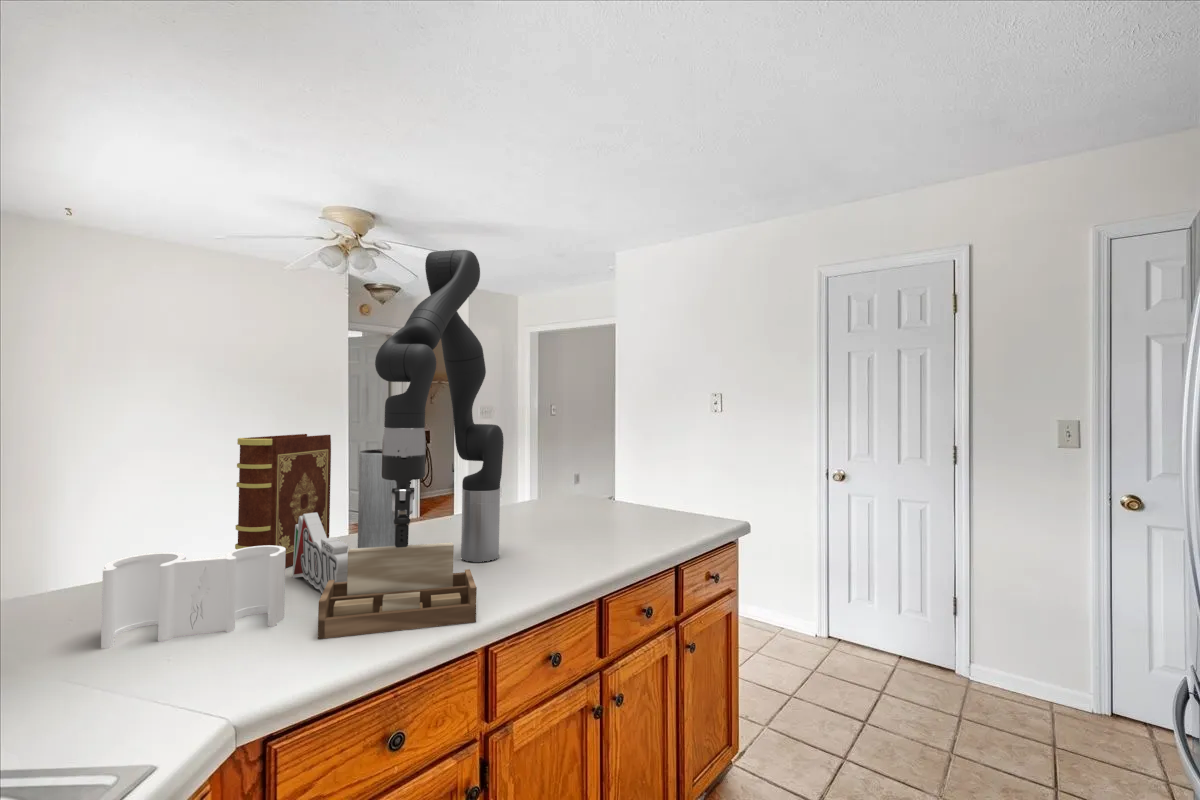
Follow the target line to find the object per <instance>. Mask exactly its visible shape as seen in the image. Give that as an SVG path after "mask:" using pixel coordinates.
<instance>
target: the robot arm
mask: <svg viewBox="0 0 1200 800" xmlns="http://www.w3.org/2000/svg"><path fill="white" fill-rule="evenodd" d="M424 267H425V269H424V270H425V278H426V281H427V285H428V290H429V294H430V295H429V296H428V297H426V298H424V299H423V300H422V301H421V302H419V303H418V304H417V305H416V307H415V308H414V309H412V310H413V311H412V312H411V314H410V315H409V317H408V319H407V320H406V322H405V323H404V326H402V327H401V328H400V329H398V330H397V331H396V332H395V333H393V335H391V336H390V337H389V338H388V339H386V341H384V342H383V343H382V345H380V347H379V349H378V350H377V353H376V355H375V359H374V361H375V362H374V366H375V371H376V373H377V375H378V377H380V378H381V379H382V380H384V381H386V382H389V383H390V382H391V383H409V385H408V386H407V389H406V391H404V392H402V393H399V394H394V395H391V396H388V397H387V398H386V400H385V403H384V420H383V421H384V425H383V428H384V429H383V436H382V443H381V444H382V447H381V449H382V478H383V479H386V480H395V481H396V485H397V487H396V488H392V493H391V499H392V501H393V504H392V513H393V515H395V519H394V524H395V547H397V548H399V547H407V546H408V545H409V532H410V531H409V529H410V528H409V526H410V524H411V518H410V516H411V514H413V508H414V507H413V506H414V505H413V504H414V503H413V502H414V499H415V487H411V485H412V481H414V480H415V481H416V480H421V479H422V480H423V478H424V477H426V456H427V455H426V451H427V439H426V429H425V428H426V427H425V426H426V405H427V401H428V398H429V394H430V389H431V386H432V384H433V379H434V376H435V373H436V371H437V358H436V354H435V352H434V349H436V347H437V346H438V344H439V343H440V342H441V348H442V355H443V362H444V368H445V372H446V373H445V374H446V378H447V381H448V387H449V392H450V401H451V407H452V415H453V417H452V418H453V429H454V430H453V431H454V441H455V447H456V451H457V454H458V455H459V457H460V458H461V459H462V460H463V461H470V462H471V461H473V462H482V467H481V469H479V471H477V472H475V473H472V474H468V475H466V476H464V477H463V478H462V481H461V482H462V484H461V486H462V487H461V488H462V489H461V493H462V495H461V544H460V546H461V547H460V548H461V549H460V558H462V559H464V560H466V561H465V562H468V561H473V562H472V563H485V562H484V561H487V562H491V561H490V560H492V561H495V560H497V559H499V557H500V521H501V520H500V516H501V515H500V512H501V511H500V510H501V482H502V481H501V480H502V473H503V457H504V445H505V444H504V433H503V430H502V427H501V426H499V425H497V424H490V423H489V424H484V423H475V422H474V417H473V407H474V403H475V400H476V399H477V395H478V394H479V391H480V390H481V387H482V386H483V383H484V381H485V379H486V378H485V377H486V373H487V370H486V362H485V355H484V349H483V346H482V344H481V342H480V340H479V339H478V337H477V335H475V333H474V332H473V331H472V329H471V328H470V327H469V326H468V324H466V322H465V321H464V320H463V318H462V317H461V316H460V314H459V312H458V310H459V309H460V308H461V307H462V306H463V305H464V303H465V302H466V301H467V300H468V298H469V297H470V296H471V295H472V294H473V293H474V291H475V290H476V289H477V287H478V285H479V282H480V277H481V267H480V263H479V259H478V258H477V255H476V254H475V253H474V252H473V251H471V250H467V249H451V250H437V251H431V252H429V253H428V254H427V255H426V259H425V266H424ZM496 558H497V559H496ZM462 559H461V560H462ZM494 559H495V560H494ZM464 560H463V561H464ZM482 561H483V562H482Z"/></svg>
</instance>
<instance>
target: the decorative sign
mask: <svg viewBox="0 0 1200 800" xmlns="http://www.w3.org/2000/svg"><path fill="white" fill-rule="evenodd" d="M348 551H349V545H348V543H346V542H344V541H342V540H340V539H339V538H338V537H336V536H333V537H329V538H327V536H326V534H325V531H324V528H323V526H322V523H321V521H320V518H319V516H318V513H317V512H316V513H308V514H303V516H299V522H298V524H296V525H295V539H294V558H293V565H292V575H291V576H292V577H293V579H295V578H304V580H306V581H307V580H308V583H309V584H310V585H313V587H314V588H315V589H316V590H319V591H320V593H321V594H322V593H323V591H324V589H325V587H326V585H327V583H328V581H329V580H335V582H347V572H348Z"/></svg>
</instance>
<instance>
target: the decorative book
mask: <svg viewBox="0 0 1200 800" xmlns="http://www.w3.org/2000/svg"><path fill="white" fill-rule="evenodd" d="M331 437H332V436H331V434H320V435H319V434H318V435H308V434H307V433H301V434H300V433H299V434H298V433H297V434H284V435H270V436H269V435H268V436H253V437H252V436H251V437H250V436H249V437H238V438H237V445H239V462H238V463H237V462H236V468H237V469H238V470H239V473H238V476H239V477H238V482H236V487H237V488H238V508H237V509H238V512H237V517H238V518H237V524H236V525H235V530H236V531H237V543H235V544H234V550H237V549H241V548H246V547H253V546H265V545H274V546H282V547H285V548H286V557H285V569H286V568H289V567H291V566H292V567H293V558H294V539H295V525H296V524H298V522H299V516H303V514H308V513H316V512H317V513H318V516H319V518H320V521H321V523H322V526H323V528H324V531H325V534H326V536H327V538H330V525H331V524H330V521H331V520H330V517H331V515H330V514H331V474H332V473H331V472H332V471H331V470H332V469H331V466H332V465H331V464H332V438H331Z"/></svg>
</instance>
